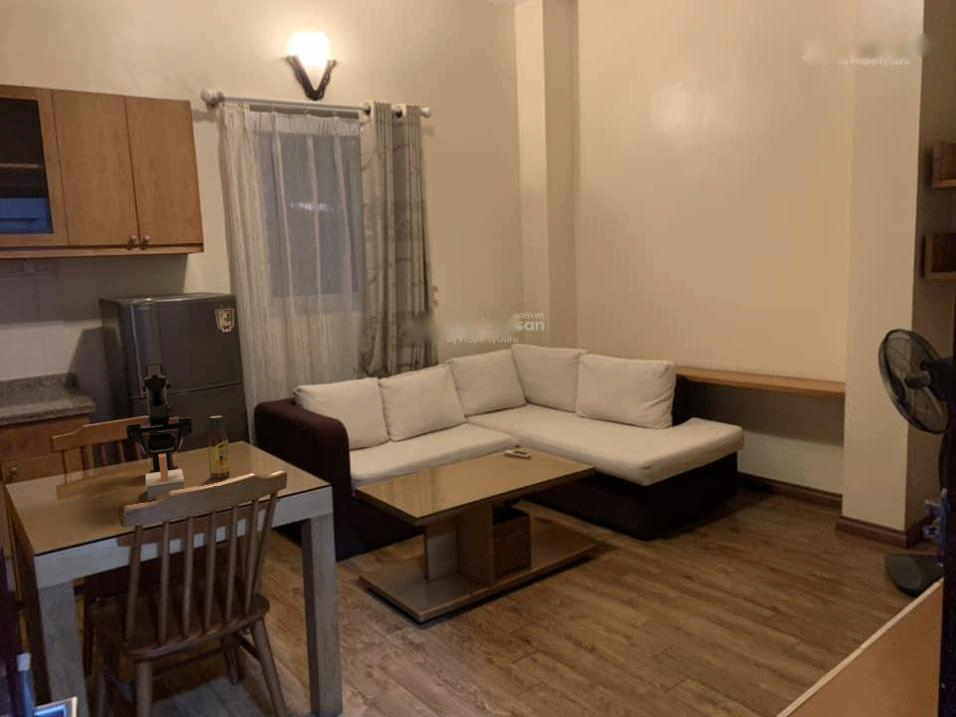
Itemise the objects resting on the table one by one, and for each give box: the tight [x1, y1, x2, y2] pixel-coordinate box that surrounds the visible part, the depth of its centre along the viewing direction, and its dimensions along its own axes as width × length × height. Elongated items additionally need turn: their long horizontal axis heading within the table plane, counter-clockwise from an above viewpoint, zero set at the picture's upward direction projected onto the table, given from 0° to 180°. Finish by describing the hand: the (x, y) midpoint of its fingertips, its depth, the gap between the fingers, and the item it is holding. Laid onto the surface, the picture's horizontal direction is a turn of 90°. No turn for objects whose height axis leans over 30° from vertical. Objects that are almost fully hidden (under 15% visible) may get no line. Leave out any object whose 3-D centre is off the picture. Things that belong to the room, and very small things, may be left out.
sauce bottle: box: [207, 415, 231, 479], centre depth 233 cm, size 6×6×20 cm
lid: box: [145, 453, 185, 488], centre depth 218 cm, size 12×10×8 cm
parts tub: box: [146, 481, 185, 501], centre depth 219 cm, size 12×10×4 cm
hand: (162, 451), depth 219 cm, fingers open, 9 cm apart
